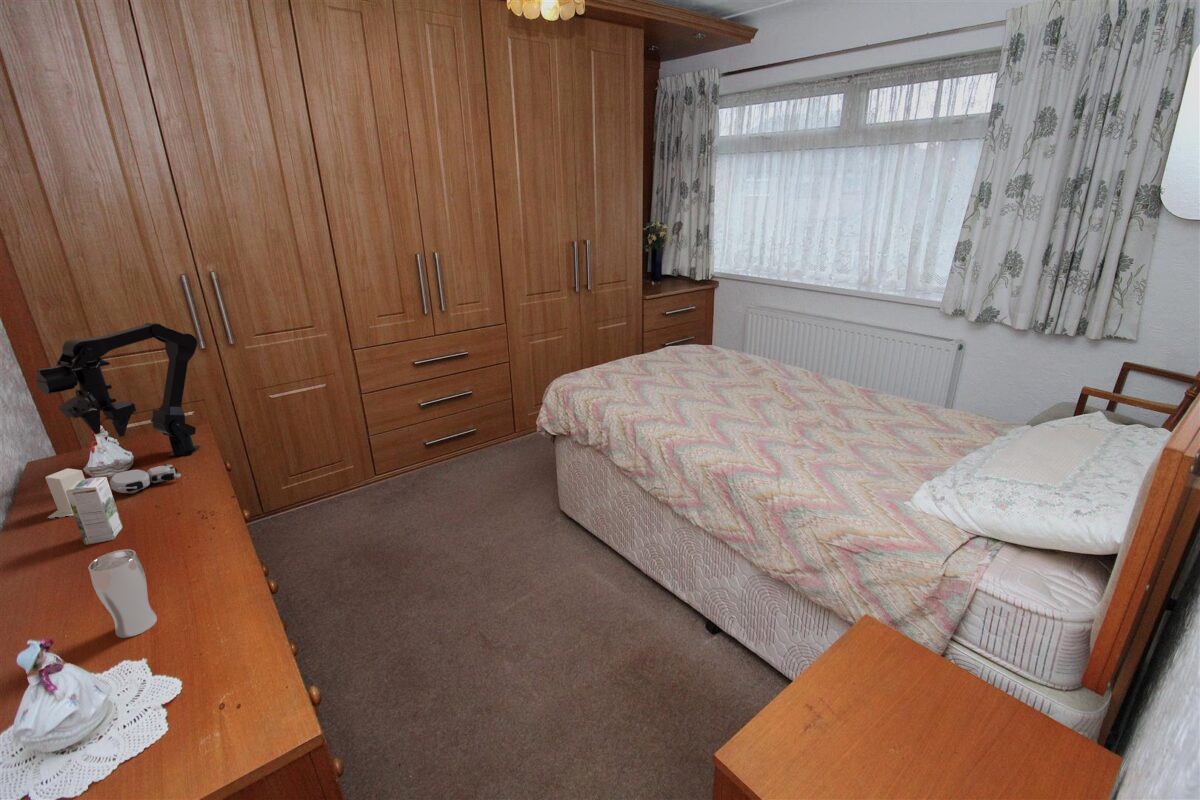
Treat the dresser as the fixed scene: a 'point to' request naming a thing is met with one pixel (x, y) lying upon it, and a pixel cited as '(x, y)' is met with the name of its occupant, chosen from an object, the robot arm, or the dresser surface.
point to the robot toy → (141, 478)
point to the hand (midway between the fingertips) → (109, 434)
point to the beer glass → (123, 591)
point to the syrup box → (94, 510)
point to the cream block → (63, 486)
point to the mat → (60, 514)
